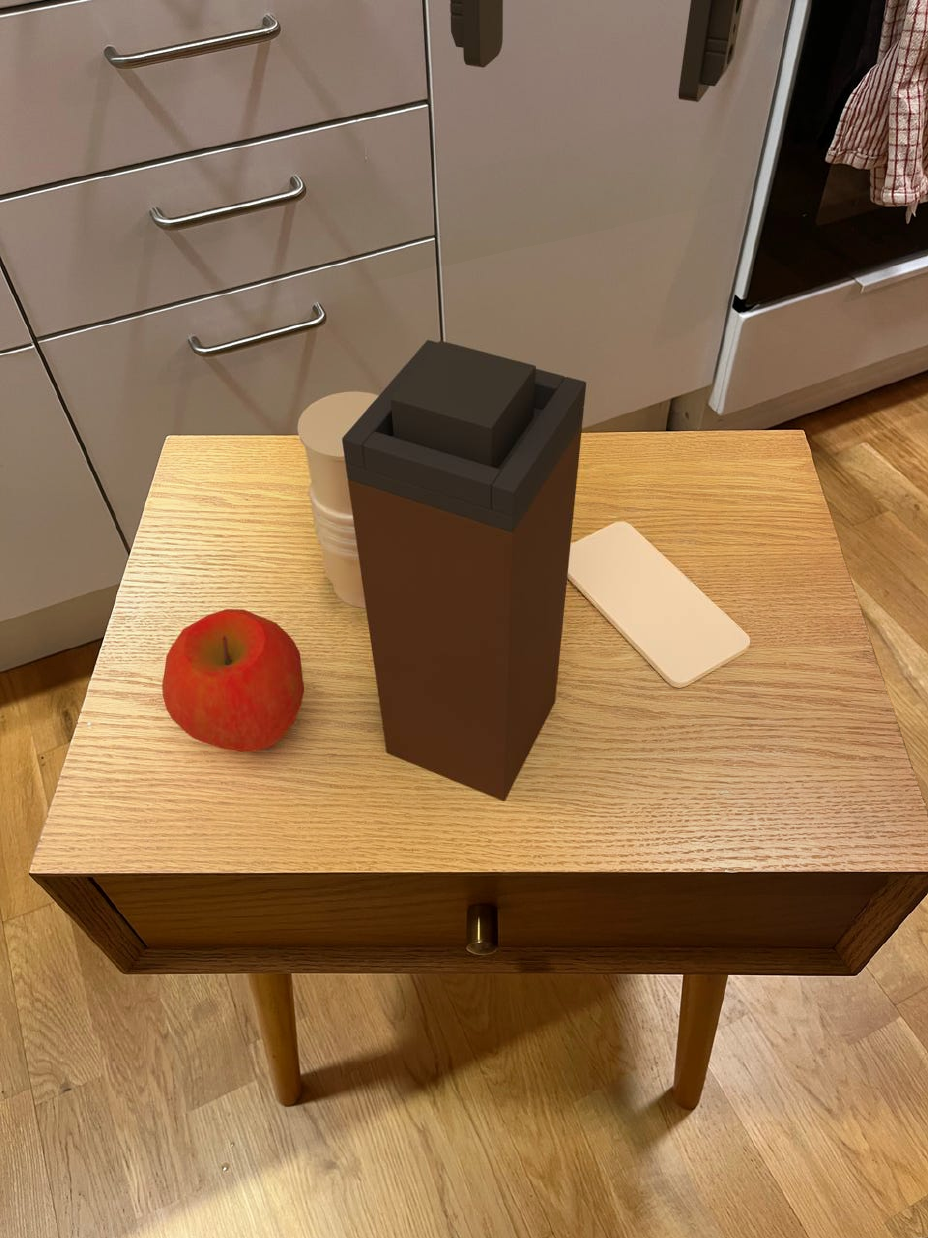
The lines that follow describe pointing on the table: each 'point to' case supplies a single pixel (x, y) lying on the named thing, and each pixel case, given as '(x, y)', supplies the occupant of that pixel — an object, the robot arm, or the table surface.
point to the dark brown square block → (465, 403)
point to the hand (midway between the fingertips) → (586, 76)
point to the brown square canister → (466, 583)
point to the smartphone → (654, 604)
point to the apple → (233, 681)
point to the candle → (334, 487)
